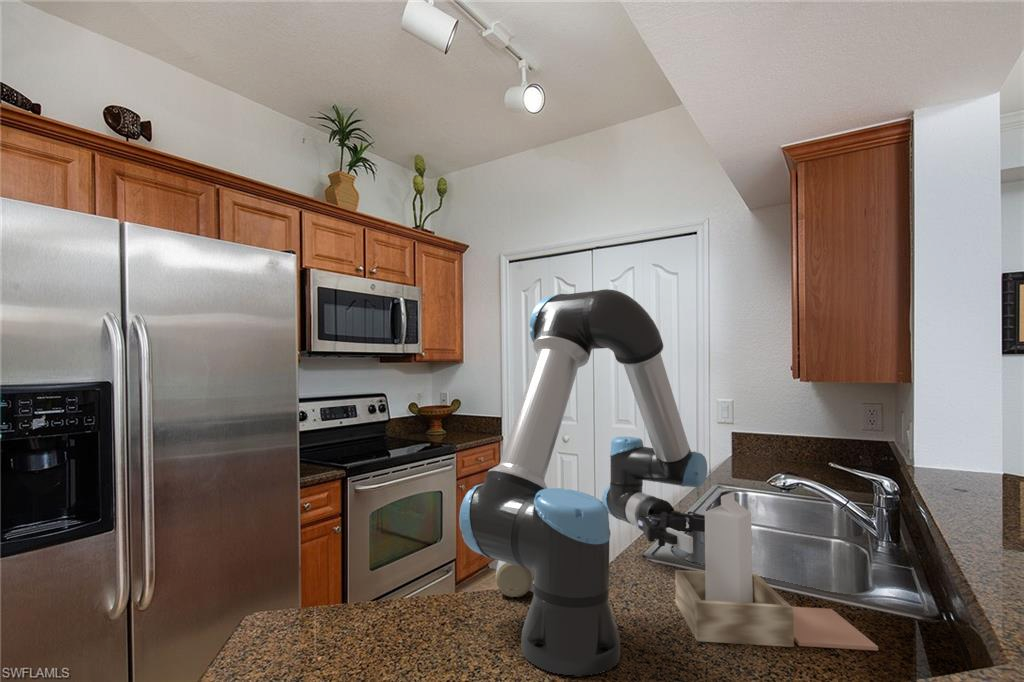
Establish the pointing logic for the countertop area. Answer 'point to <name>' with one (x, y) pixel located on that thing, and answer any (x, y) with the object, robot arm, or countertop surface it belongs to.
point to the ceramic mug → (514, 579)
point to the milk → (728, 552)
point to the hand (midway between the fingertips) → (721, 542)
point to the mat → (827, 630)
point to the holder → (734, 613)
